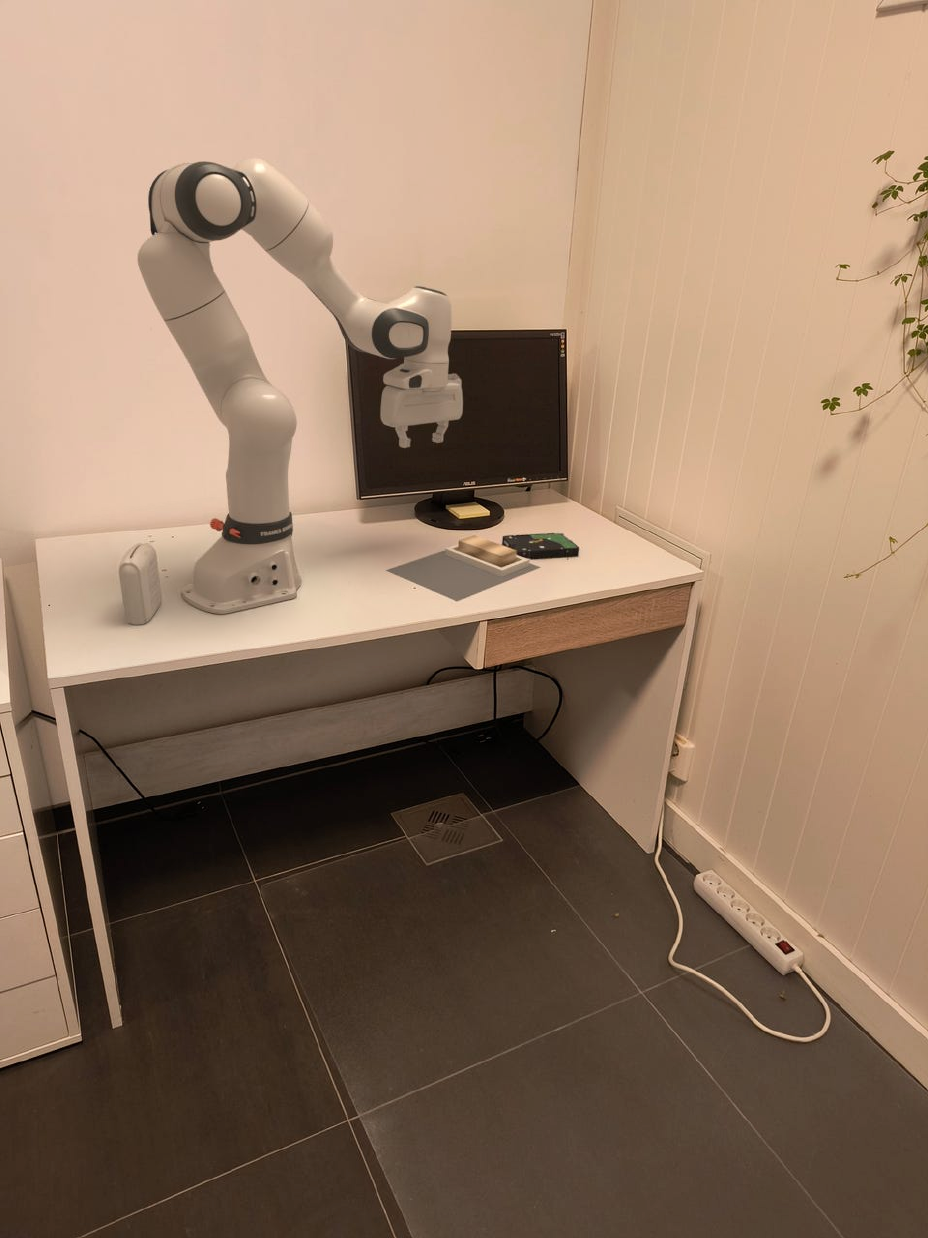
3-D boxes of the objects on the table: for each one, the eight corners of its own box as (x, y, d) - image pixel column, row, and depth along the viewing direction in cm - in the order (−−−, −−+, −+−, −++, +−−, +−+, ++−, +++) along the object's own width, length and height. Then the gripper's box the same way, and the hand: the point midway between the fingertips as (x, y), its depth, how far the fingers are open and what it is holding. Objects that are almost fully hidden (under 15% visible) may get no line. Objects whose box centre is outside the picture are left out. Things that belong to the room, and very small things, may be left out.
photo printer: (141, 600, 147) (132, 536, 142) (165, 601, 148) (157, 537, 142) (122, 625, 138) (112, 558, 133) (148, 626, 138) (139, 559, 133)
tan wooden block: (458, 555, 174) (458, 540, 173) (473, 550, 178) (474, 535, 176) (500, 571, 167) (501, 556, 166) (515, 565, 170) (516, 550, 169)
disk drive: (516, 563, 175) (579, 558, 179) (517, 551, 173) (580, 546, 177) (500, 546, 183) (560, 542, 188) (501, 535, 182) (561, 530, 186)
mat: (457, 603, 153) (457, 593, 152) (385, 572, 165) (385, 563, 164) (540, 568, 171) (541, 560, 170) (470, 543, 183) (471, 535, 182)
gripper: (450, 370, 169) (445, 436, 175) (376, 375, 155) (374, 446, 161) (472, 375, 165) (466, 442, 171) (398, 380, 151) (395, 453, 157)
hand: (421, 444), depth 166 cm, fingers open, 8 cm apart
